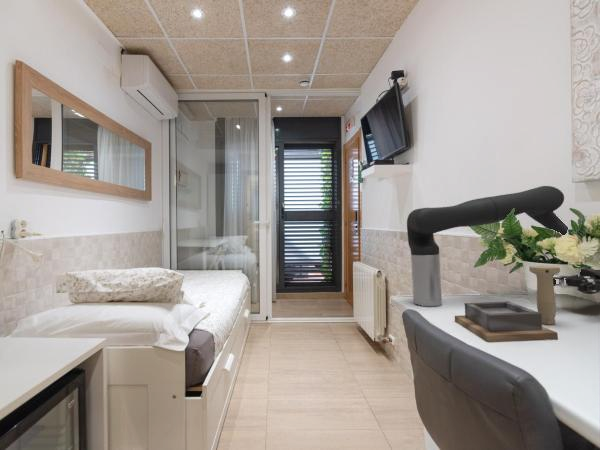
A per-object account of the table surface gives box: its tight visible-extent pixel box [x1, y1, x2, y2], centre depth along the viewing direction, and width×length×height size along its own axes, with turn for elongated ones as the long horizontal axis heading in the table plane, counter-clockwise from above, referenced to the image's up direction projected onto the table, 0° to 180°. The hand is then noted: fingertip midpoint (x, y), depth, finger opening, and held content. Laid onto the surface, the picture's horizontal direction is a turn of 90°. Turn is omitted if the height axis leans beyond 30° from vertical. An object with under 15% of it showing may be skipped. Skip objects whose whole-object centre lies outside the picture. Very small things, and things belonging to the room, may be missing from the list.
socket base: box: [454, 300, 559, 343], centre depth 80 cm, size 16×16×6 cm
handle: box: [528, 265, 561, 325], centre depth 83 cm, size 5×6×15 cm
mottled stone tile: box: [484, 308, 516, 313], centre depth 80 cm, size 8×8×1 cm
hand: (563, 285), depth 86 cm, fingers open, 8 cm apart
